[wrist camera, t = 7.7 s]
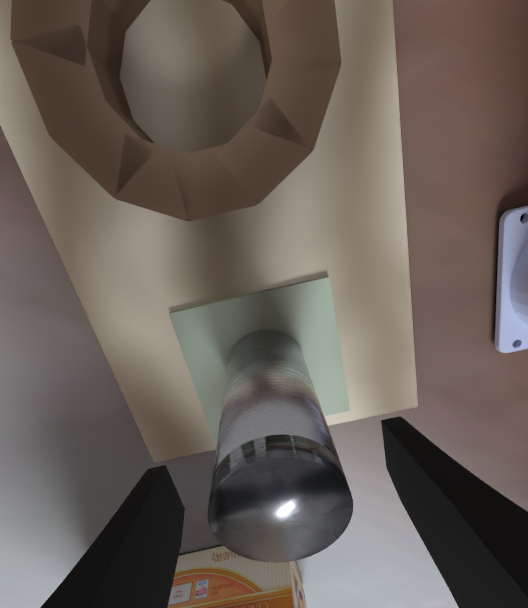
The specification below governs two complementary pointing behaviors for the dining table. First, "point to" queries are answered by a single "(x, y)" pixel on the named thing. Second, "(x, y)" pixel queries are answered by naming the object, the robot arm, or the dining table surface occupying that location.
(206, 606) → the coffeecake box
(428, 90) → the dining table surface
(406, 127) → the dining table surface
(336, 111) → the board
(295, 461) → the pin
